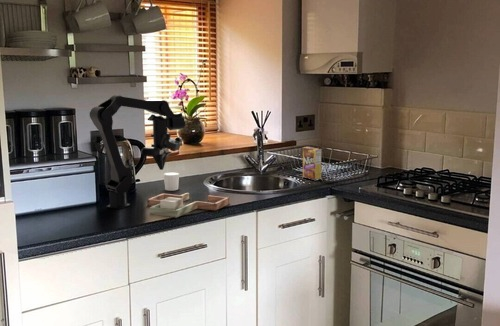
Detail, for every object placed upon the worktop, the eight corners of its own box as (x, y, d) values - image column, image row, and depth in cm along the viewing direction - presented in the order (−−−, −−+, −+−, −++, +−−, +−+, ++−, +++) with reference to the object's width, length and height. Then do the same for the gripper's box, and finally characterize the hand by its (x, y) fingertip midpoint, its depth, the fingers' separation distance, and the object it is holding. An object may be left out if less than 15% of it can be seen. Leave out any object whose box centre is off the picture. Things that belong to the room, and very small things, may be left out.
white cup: (160, 189, 246) (160, 174, 245) (170, 186, 252) (169, 171, 251) (173, 191, 243) (173, 175, 242) (182, 188, 249) (182, 172, 248)
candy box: (301, 179, 268) (302, 147, 265) (308, 177, 270) (309, 146, 268) (314, 182, 261) (315, 149, 258) (321, 181, 263) (322, 148, 260)
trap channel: (195, 220, 199) (195, 213, 199) (132, 211, 211) (132, 205, 211) (229, 203, 222) (229, 197, 222) (170, 196, 234) (170, 190, 233)
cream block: (174, 215, 206) (174, 202, 205) (160, 213, 209) (160, 200, 208) (183, 211, 212) (182, 198, 211) (169, 209, 214) (169, 196, 213)
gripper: (163, 135, 214) (165, 175, 217) (189, 129, 231) (190, 167, 233) (139, 133, 219) (141, 173, 222) (167, 128, 235) (168, 165, 238)
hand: (161, 169), depth 229 cm, fingers closed
